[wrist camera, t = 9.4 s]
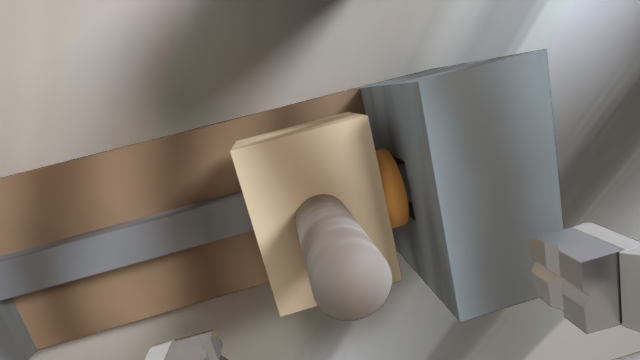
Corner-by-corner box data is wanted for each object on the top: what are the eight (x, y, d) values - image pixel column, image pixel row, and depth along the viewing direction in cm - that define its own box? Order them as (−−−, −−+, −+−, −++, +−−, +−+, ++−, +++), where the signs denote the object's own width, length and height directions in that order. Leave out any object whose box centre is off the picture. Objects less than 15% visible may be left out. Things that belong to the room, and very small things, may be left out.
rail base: (431, 69, 24) (546, 48, 14) (455, 217, 26) (569, 287, 16) (-115, 206, 21) (-442, 300, 11) (-33, 358, 23) (-244, 543, 14)
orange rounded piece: (476, 116, 21) (523, 120, 17) (485, 184, 22) (532, 202, 18) (356, 148, 21) (377, 159, 17) (371, 216, 22) (394, 242, 18)
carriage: (347, 112, 20) (425, 124, 10) (378, 248, 22) (467, 365, 12) (236, 140, 20) (209, 181, 10) (277, 277, 22) (287, 424, 12)
